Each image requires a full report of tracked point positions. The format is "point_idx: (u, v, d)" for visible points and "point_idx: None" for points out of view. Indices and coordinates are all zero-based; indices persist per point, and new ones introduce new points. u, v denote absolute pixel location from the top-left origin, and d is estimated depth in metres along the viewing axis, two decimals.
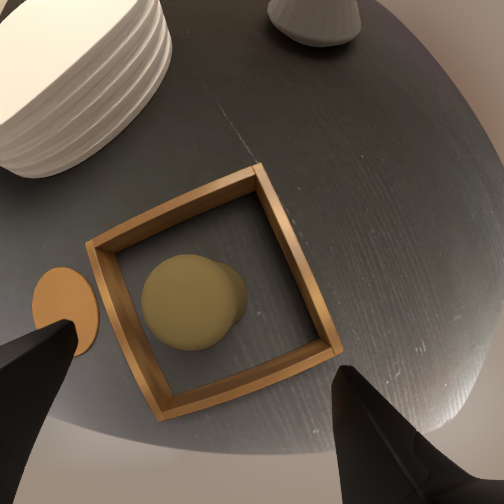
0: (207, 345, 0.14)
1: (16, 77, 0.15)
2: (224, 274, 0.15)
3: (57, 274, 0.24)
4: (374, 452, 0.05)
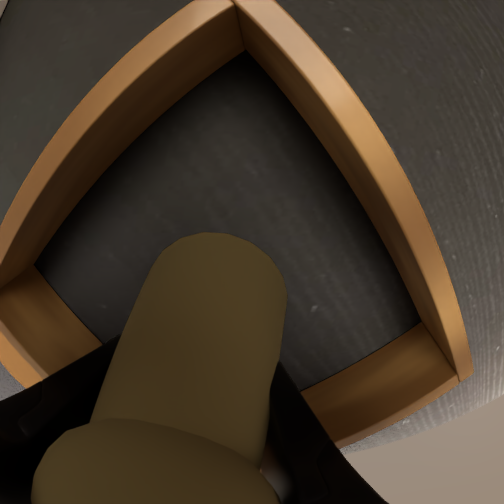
0: None
1: None
2: None
3: None
4: (278, 455, 0.05)
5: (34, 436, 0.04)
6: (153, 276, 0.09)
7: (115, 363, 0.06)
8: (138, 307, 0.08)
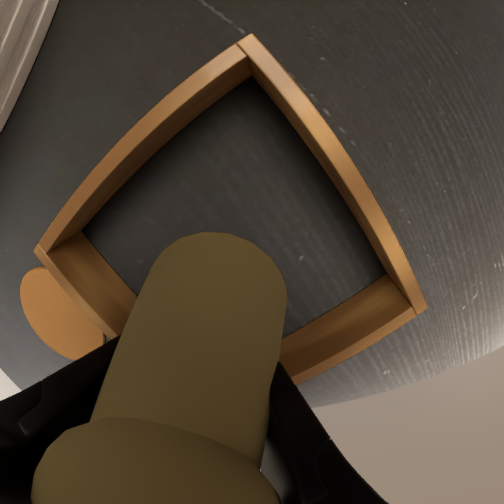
0: None
1: None
2: None
3: (33, 279, 0.18)
4: (278, 455, 0.05)
5: (34, 436, 0.04)
6: (153, 276, 0.09)
7: (115, 362, 0.06)
8: (138, 306, 0.08)
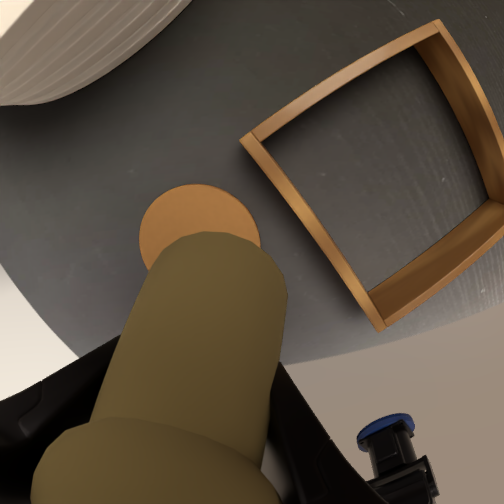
0: None
1: None
2: None
3: (172, 199, 0.19)
4: (278, 455, 0.05)
5: (34, 436, 0.04)
6: (153, 275, 0.09)
7: (115, 362, 0.06)
8: (138, 306, 0.08)
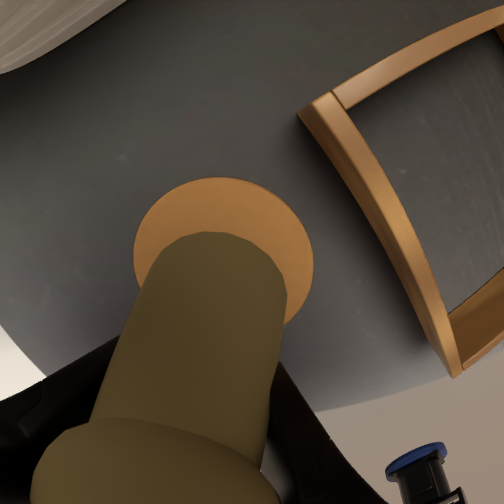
0: None
1: None
2: None
3: (184, 200, 0.13)
4: (278, 455, 0.05)
5: (33, 436, 0.04)
6: (153, 275, 0.09)
7: (114, 362, 0.06)
8: (138, 306, 0.08)
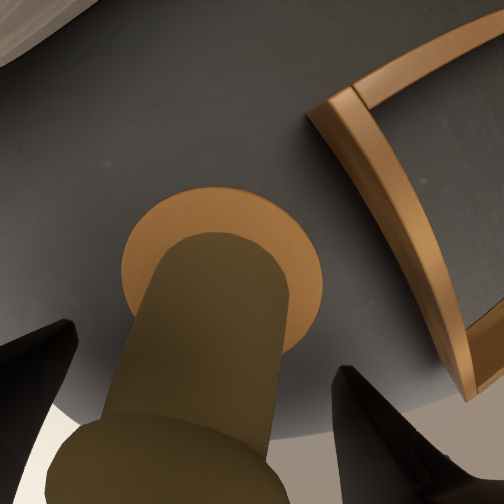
0: None
1: None
2: None
3: (175, 213, 0.11)
4: (374, 452, 0.05)
5: None
6: (159, 275, 0.10)
7: (125, 360, 0.06)
8: (146, 305, 0.08)
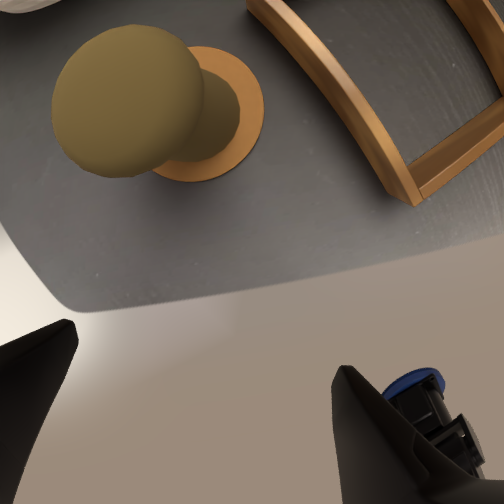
0: (163, 149, 0.08)
1: None
2: (165, 32, 0.06)
3: None
4: (374, 452, 0.05)
5: None
6: None
7: None
8: None
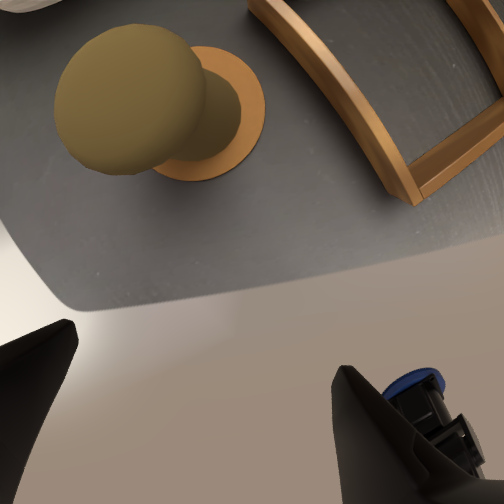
0: (165, 146, 0.08)
1: None
2: (168, 31, 0.07)
3: None
4: (374, 452, 0.05)
5: None
6: None
7: None
8: None
